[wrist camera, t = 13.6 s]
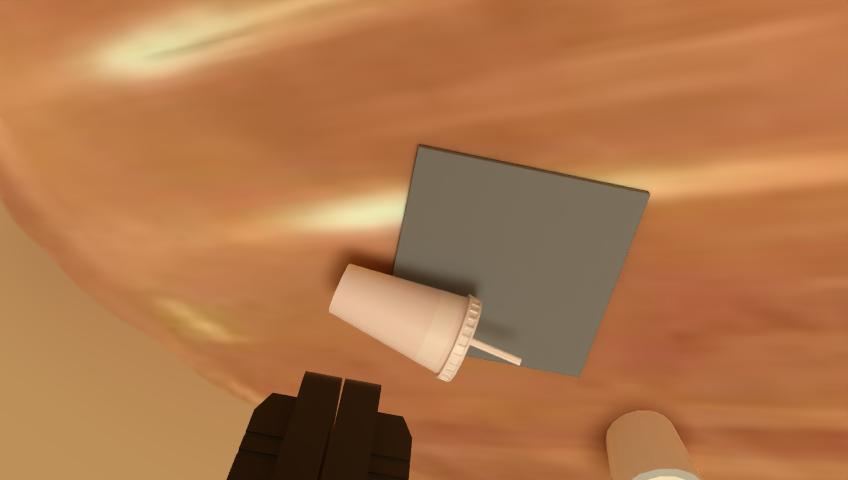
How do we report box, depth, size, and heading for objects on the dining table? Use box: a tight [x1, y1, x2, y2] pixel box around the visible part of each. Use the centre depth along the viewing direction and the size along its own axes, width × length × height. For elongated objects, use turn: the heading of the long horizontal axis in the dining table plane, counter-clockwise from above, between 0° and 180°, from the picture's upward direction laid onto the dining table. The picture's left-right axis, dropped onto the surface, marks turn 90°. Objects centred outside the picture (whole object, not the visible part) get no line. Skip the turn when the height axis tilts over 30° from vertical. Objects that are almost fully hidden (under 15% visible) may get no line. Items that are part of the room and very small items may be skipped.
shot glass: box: [606, 410, 703, 480], centre depth 53 cm, size 7×7×7 cm
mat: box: [392, 145, 650, 377], centre depth 49 cm, size 16×16×1 cm
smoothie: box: [329, 264, 522, 382], centre depth 48 cm, size 6×6×14 cm
